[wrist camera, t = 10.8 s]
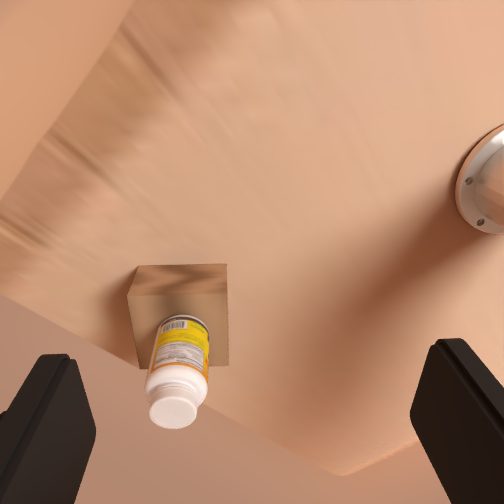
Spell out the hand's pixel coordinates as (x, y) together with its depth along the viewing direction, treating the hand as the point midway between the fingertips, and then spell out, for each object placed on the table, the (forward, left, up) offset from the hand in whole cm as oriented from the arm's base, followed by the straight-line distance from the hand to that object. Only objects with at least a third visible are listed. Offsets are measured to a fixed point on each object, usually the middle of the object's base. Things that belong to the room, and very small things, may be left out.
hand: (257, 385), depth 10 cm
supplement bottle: (+6, +19, -24) cm, 31 cm away
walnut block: (+6, +19, -30) cm, 36 cm away
